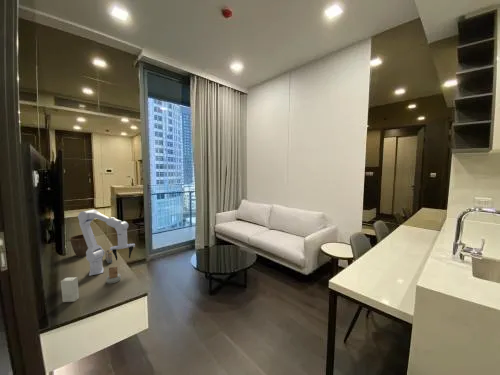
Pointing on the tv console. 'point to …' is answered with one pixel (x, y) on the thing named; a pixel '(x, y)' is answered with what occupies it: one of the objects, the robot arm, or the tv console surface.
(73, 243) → the plant pot
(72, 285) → the skincare box
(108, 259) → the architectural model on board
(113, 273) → the walnut block
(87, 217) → the robot arm
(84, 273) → the tv console surface
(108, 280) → the pale grey round disc
